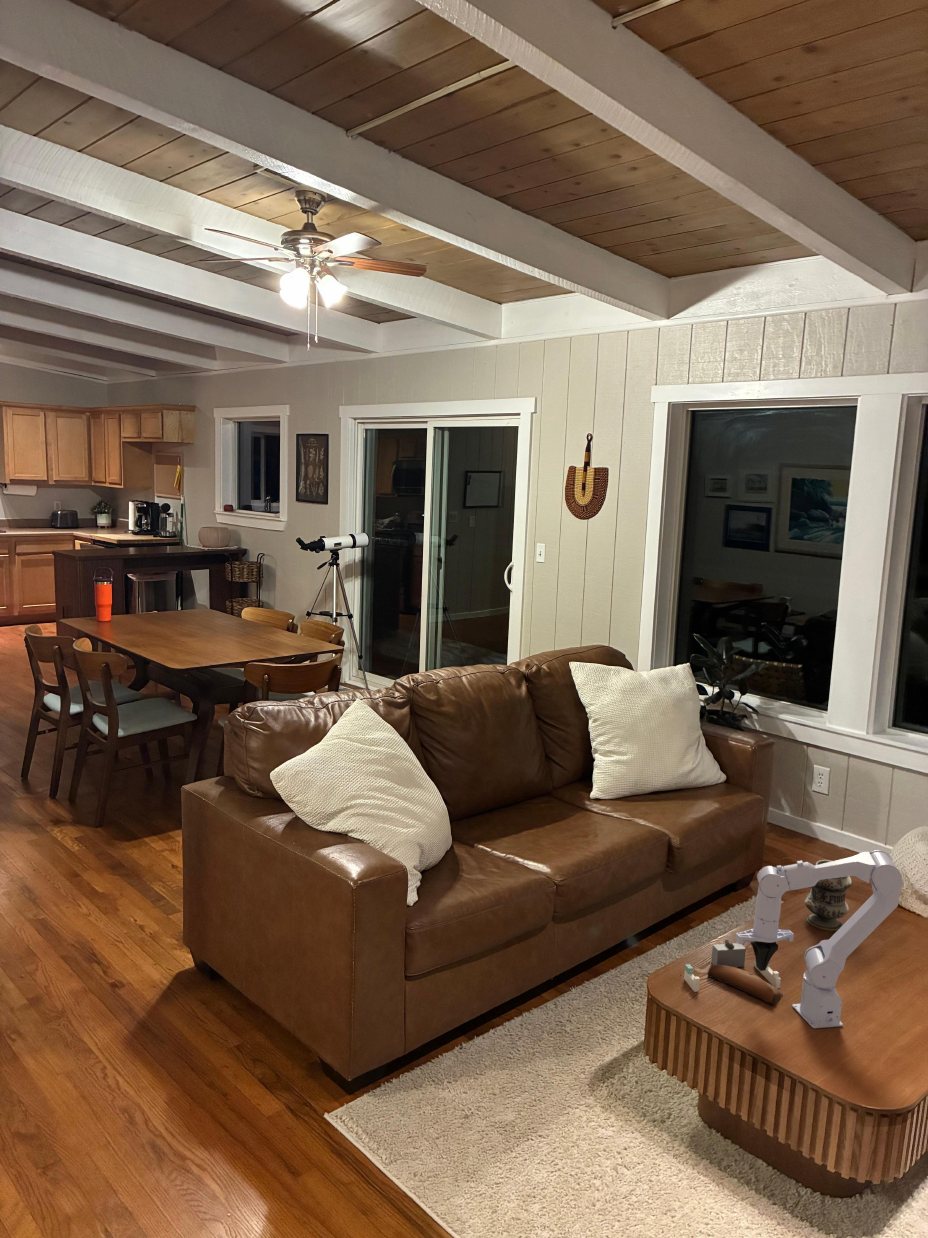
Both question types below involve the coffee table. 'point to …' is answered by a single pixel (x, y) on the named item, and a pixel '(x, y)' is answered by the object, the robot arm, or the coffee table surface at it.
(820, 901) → the apothecary jar
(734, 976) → the sunglasses case
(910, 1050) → the coffee table surface
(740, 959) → the grey block
